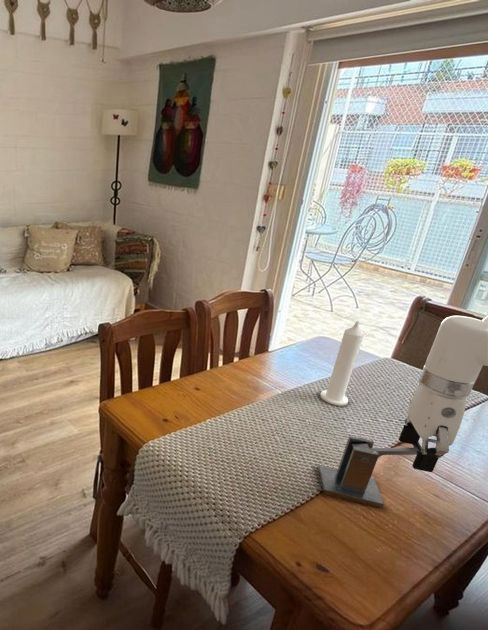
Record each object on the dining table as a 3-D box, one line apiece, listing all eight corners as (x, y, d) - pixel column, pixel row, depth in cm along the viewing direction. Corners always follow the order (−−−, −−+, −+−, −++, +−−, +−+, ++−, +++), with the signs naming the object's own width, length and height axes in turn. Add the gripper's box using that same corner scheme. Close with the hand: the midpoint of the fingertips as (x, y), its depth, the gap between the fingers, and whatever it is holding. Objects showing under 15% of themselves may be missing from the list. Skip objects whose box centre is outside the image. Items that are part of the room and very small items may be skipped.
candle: (324, 389, 133) (347, 313, 123) (350, 399, 128) (376, 321, 118) (316, 398, 128) (339, 320, 118) (343, 408, 124) (369, 328, 114)
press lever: (419, 448, 90) (418, 438, 90) (428, 464, 86) (427, 454, 85) (351, 448, 95) (350, 439, 95) (356, 464, 91) (355, 454, 90)
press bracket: (372, 481, 98) (388, 439, 93) (382, 508, 91) (400, 464, 86) (317, 468, 101) (330, 427, 97) (323, 493, 94) (337, 450, 90)
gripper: (493, 411, 73) (454, 491, 80) (450, 363, 88) (420, 434, 95) (440, 402, 75) (406, 480, 82) (406, 356, 91) (381, 426, 98)
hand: (414, 455), depth 89 cm, fingers open, 7 cm apart
